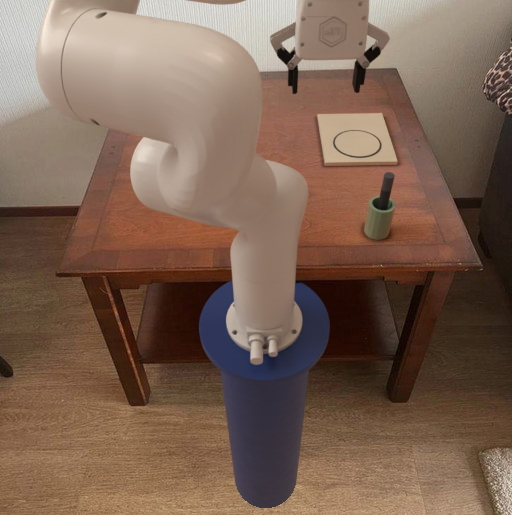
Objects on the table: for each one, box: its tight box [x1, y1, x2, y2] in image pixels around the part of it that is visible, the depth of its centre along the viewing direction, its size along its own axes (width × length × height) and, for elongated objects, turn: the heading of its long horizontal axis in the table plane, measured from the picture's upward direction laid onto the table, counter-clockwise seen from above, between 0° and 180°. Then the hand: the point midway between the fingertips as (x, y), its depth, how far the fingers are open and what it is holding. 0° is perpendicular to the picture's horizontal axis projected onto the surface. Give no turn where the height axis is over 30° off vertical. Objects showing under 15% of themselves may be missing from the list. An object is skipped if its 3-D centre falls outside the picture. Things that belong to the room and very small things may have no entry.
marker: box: [377, 171, 396, 210], centre depth 93 cm, size 2×2×13 cm
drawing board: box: [316, 112, 399, 167], centre depth 119 cm, size 20×16×1 cm
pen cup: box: [363, 194, 397, 241], centre depth 96 cm, size 5×5×7 cm
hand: (324, 89), depth 80 cm, fingers open, 9 cm apart
